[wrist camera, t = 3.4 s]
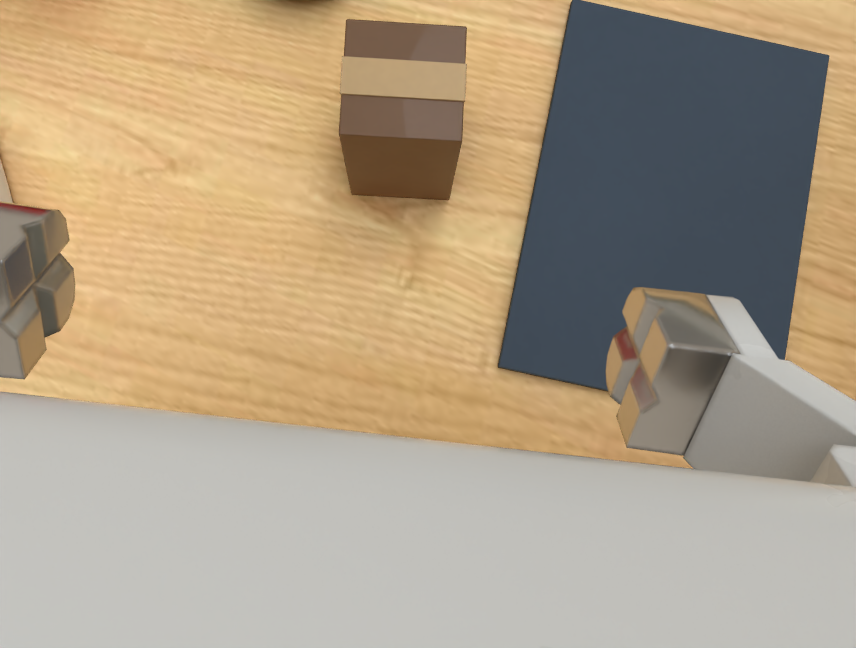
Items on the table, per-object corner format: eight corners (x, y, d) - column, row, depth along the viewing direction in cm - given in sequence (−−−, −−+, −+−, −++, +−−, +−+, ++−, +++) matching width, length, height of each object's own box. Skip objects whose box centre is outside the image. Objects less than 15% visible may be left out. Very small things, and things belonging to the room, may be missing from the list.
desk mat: (570, 3, 40) (572, -3, 39) (824, 59, 40) (830, 54, 39) (497, 367, 37) (498, 366, 36) (770, 426, 37) (775, 426, 36)
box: (454, 107, 39) (468, 24, 31) (450, 200, 38) (463, 140, 30) (356, 102, 38) (344, 17, 30) (350, 194, 38) (337, 133, 30)
